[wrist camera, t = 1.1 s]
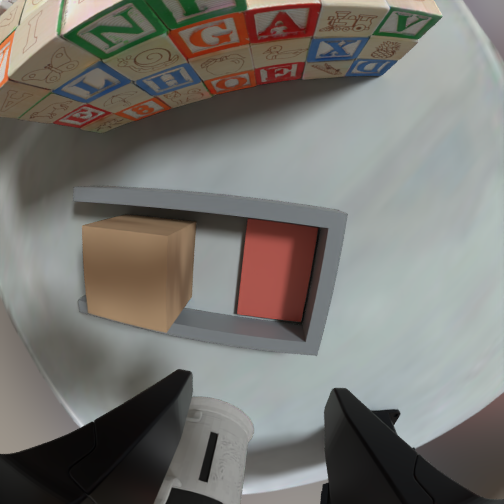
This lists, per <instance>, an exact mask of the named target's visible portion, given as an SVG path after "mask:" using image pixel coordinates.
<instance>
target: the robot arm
mask: <svg viewBox="0 0 504 504" xmlns="http://www.w3.org/2000/svg"><path fill="white" fill-rule="evenodd" d="M192 393H193V376H192V372H190V371H186V370H182V369H178V370H176V371H175V372H173V373H171V374H170V375H168V376H167V377H165V378H164V379H162V380H161V381H159V382H157V383H156V384H154V385H153V386H151V387H149V388H148V389H146V390H145V391H143V392H141V393H140V394H138V395H136V396H135V397H133V398H132V399H130V400H128V401H127V402H125V403H123V404H122V405H120V406H118V407H116V408H115V409H113V410H111V411H110V412H108V413H106V414H104V415H103V416H101V417H99V418H97V419H96V420H94V422H90V423H88V424H87V425H85V426H83V427H81V428H79V429H77V430H75V431H73V432H71V433H69V434H67V435H64V436H62V437H60V438H57V439H55V440H52V441H50V442H47V443H44V444H41V445H38V446H35V447H32V448H29V449H26V450H23V451H20V452H16V453H11V454H0V504H154V502H155V499H156V497H157V495H158V492H159V490H160V487H161V485H162V483H163V480H164V478H165V476H166V473H167V471H168V469H169V466H170V464H171V461H172V459H173V457H174V454H175V452H176V450H177V447H178V445H179V442H180V440H181V436H182V433H183V429H184V426H185V422H186V418H187V414H188V410H189V406H190V403H191V399H192ZM399 416H400V411H399V410H385V411H370V410H369V409H368V408H367V407H366V406H365V405H364V404H363V403H362V402H361V401H359V400H358V399H357V398H356V397H355V396H354V395H353V394H352V393H351V392H350V391H349V390H348V389H346V388H334V389H332V391H331V393H330V396H329V398H328V401H327V403H326V406H325V410H324V423H325V458H326V465H327V473H328V480H329V483H326V484H323V488H322V492H321V502H320V504H504V499H499V500H494V499H486V498H484V497H481V496H479V495H477V494H475V493H473V492H471V491H470V490H468V489H467V488H465V487H463V486H462V485H460V484H459V483H457V482H455V481H454V480H452V479H451V478H449V477H448V476H447V475H445V474H444V473H442V472H441V471H439V470H438V469H437V468H435V467H434V466H433V465H431V464H430V463H429V462H428V461H427V460H426V459H424V458H423V457H422V456H421V455H419V454H418V455H417V452H416V451H415V448H412V447H410V446H409V445H408V444H407V443H406V442H405V441H404V440H402V439H401V438H400V437H399V436H398V435H397V433H396V430H395V428H394V424H395V422H396V421H397V419H398V418H399Z"/></svg>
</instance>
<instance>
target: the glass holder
mask: <svg viewBox="0 0 504 504" xmlns="http://www.w3.org/2000/svg"><path fill="white" fill-rule="evenodd" d="M253 434H254V427H253V423H252V421H251V420H250V418H249V417H248V416H247V415H246V414H245V413H244V412H243V411H242V410H240V409H239V408H237V407H235V406H233V405H231V404H229V403H227V402H224V401H221V400H218V399H214V398H208V397H192V399H191V403H190V406H189V410H188V414H187V418H186V422H185V426H184V429H183V433H182V436H181V440H180V442H179V445H178V447H177V450H176V452H175V454H174V457H173V459H172V461H171V464H170V466H169V469H168V471H167V473H166V476H165V478H164V480H163V483H162V485H161V487H160V490H159V492H158V495H157V497H156V499H155V502H154V504H241V496H242V488H243V480H244V472H245V464H246V455H247V446H248V443H249V441H250V440H251V439H252V437H253Z"/></svg>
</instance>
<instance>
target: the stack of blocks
mask: <svg viewBox="0 0 504 504" xmlns="http://www.w3.org/2000/svg"><path fill="white" fill-rule="evenodd" d="M442 17H443V16H442V14H441V12H440V10H439V9H438V7H437V5H436V3H435V2H434V0H17V1H16V2H15V3H14V4H13V5H12V6H11V7H10V8H9V9H7V10H6V11H5V12H4V13H3V14H2V15H1V16H0V117H7V118H17V119H18V120H28V121H33V122H39V123H46V124H50V123H54V124H59V125H64V126H71V127H77V128H80V129H82V130H86V131H92V132H98V133H104V132H107V131H109V130H111V129H114V128H116V127H119V126H121V125H124V124H126V123H129V122H132V121H137V120H140V119H142V118H145V117H148V116H151V115H154V114H157V113H160V112H163V111H166V110H169V109H171V108H175V107H179V106H183V105H186V104H189V103H193V102H197V101H200V100H204V99H208V98H211V97H213V96H214V95H217V94H222V93H226V92H230V91H235V90H239V89H244V88H249V87H255V86H257V85H261V84H268V83H275V82H281V81H288V80H296V79H300V78H301V79H302V80H308V79H318V78H332V77H343V76H381V75H383V74H384V73H385V72H386V71H387V70H388V69H390V68H391V67H392V66H393V65H394V64H395V63H396V62H397V61H398V60H399V59H401V58H402V57H403V56H404V55H405V54H406V53H408V52H409V51H410V50H411V49H412V48H413V47H414V46H415V45H416V44H417V43H418V39H419V38H421V37H422V36H423V35H424V34H425V33H426V32H427V31H428V30H429V29H430V28H431V27H433V26H434V25H435V24H436V23H437V22H438V21H439V20H440V19H441V18H442Z"/></svg>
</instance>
